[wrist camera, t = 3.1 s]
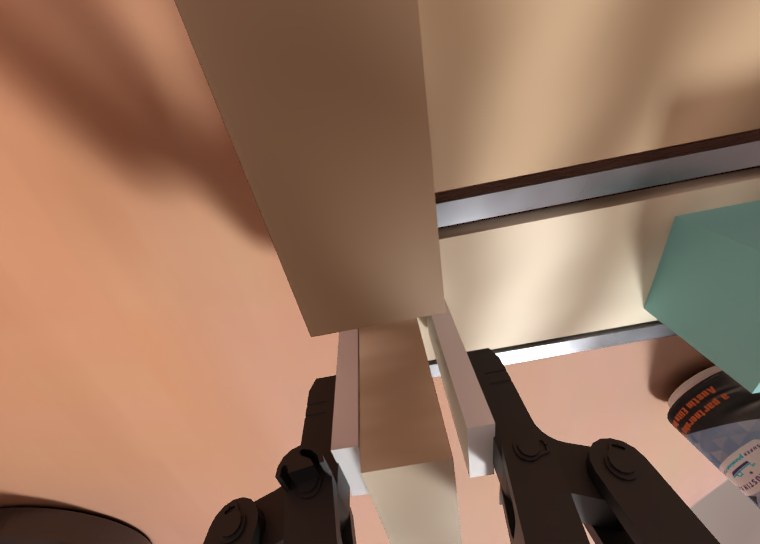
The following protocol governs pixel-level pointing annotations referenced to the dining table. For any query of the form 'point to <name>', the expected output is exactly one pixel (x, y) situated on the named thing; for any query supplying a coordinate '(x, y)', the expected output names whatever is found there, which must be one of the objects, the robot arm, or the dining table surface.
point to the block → (714, 287)
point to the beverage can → (721, 425)
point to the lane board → (586, 185)
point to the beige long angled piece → (510, 325)
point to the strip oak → (447, 116)
